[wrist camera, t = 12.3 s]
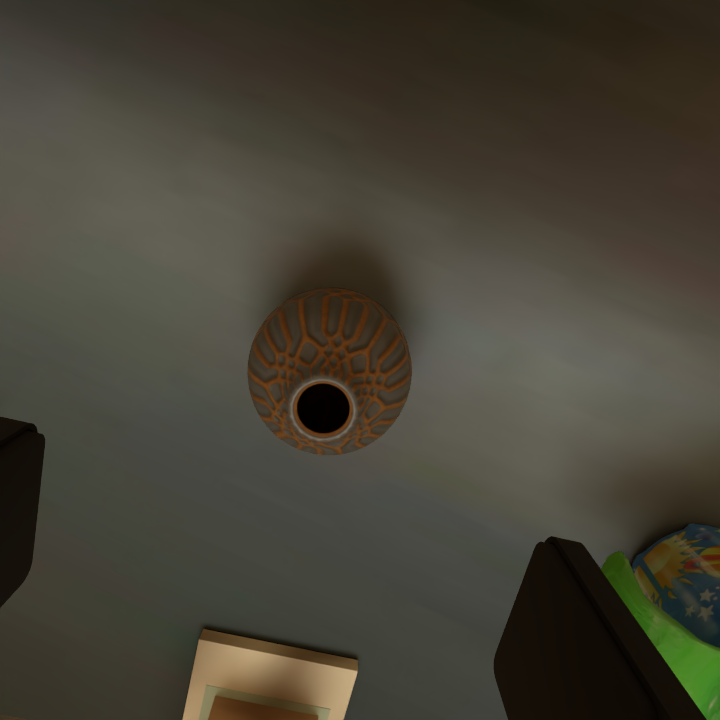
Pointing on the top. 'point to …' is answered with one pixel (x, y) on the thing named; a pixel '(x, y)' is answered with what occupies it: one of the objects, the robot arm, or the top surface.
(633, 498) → the top surface
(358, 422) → the vase
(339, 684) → the beige flat rectangular piece
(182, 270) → the top surface
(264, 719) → the teak cube
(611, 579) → the snack cup
